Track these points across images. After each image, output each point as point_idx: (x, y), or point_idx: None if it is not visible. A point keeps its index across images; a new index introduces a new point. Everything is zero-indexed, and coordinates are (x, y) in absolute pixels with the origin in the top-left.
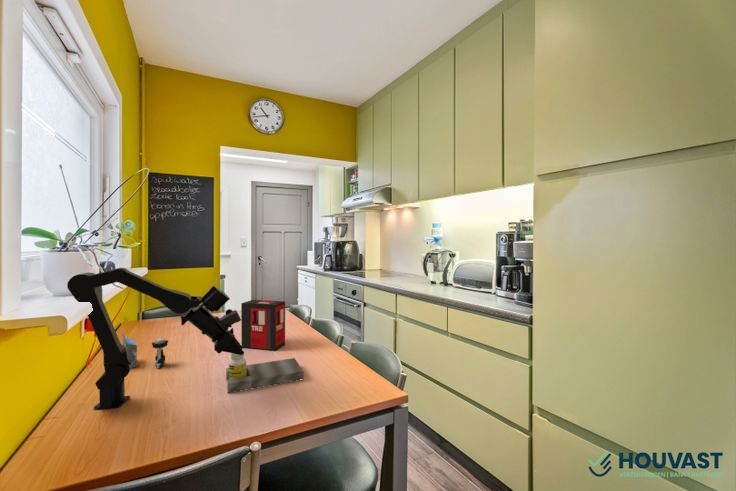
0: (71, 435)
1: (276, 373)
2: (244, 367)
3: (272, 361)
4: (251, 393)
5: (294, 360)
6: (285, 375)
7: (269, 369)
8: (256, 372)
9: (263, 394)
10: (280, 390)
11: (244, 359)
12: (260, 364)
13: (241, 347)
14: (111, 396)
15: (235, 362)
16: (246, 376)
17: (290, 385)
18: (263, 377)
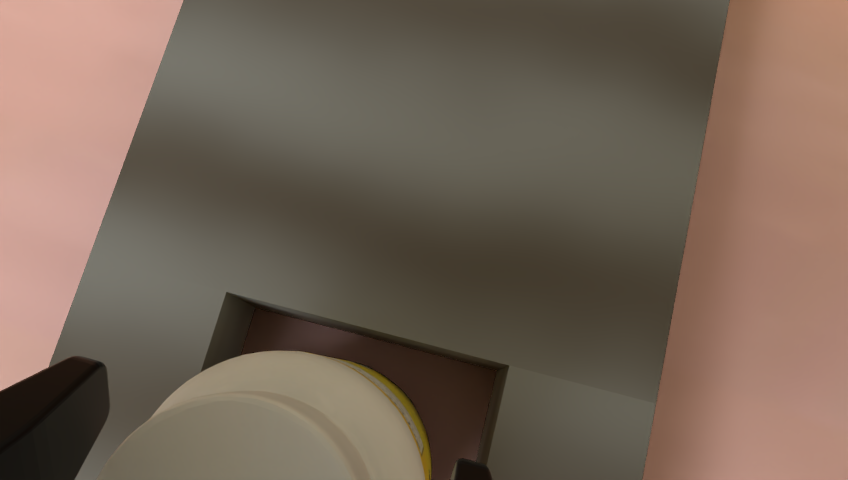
0: None
1: (639, 69)
2: (407, 416)
3: None
4: (728, 442)
5: None
6: (725, 5)
7: (455, 84)
8: (444, 255)
9: (827, 344)
10: (830, 163)
11: (342, 396)
12: (201, 108)
13: (82, 398)
14: None
15: None
16: (382, 375)
17: (770, 35)
18: (669, 246)
